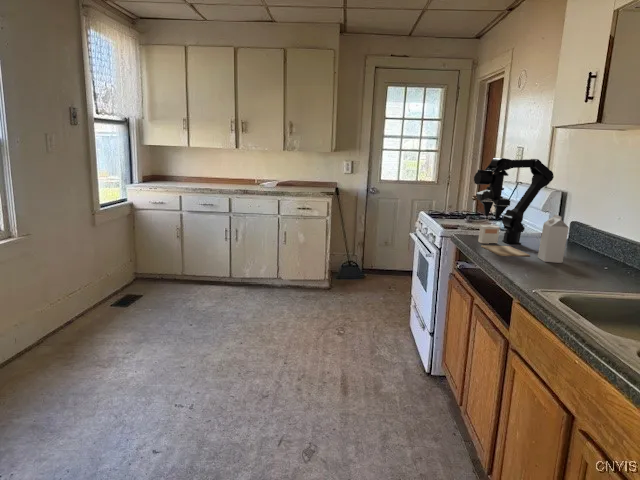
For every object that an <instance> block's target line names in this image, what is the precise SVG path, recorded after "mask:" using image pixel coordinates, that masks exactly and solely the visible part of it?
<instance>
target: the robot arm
mask: <svg viewBox="0 0 640 480" xmlns="http://www.w3.org/2000/svg"><path fill="white" fill-rule="evenodd" d="M515 168H516V169H522V168H525V169H527V168H529V169H530V173H531V174H532V177H531V183H530V185H529V187H528V188H527V190H525V192H524V194H523V195H522V197H521V198H520V199H519V201H518V202H517V203H516V205H515V206H514V208H512V209H508V207H509V206H511V200H510V199H508V198H504V197H503V196H502V191H505V187H503V186H504V185H503V184H504V178H505V177H509V173H508V172H507V171H508V170H511V169H515ZM554 177H555V176H554V172H553V171H552V170H550V169H549V167H547V166H546V165H545V164H543V162H542V161H541V160H540V159H538V158H529V159H528V158H527V159H510V158H505V157H504V158H503V157H493V158H492V159H491V160H490V163H489V164H488V166H486V168H485V169H477V172H476V173H475V175H474V176H473V182H474V184H475V185H482V186H485V185H489V186H487V187H486V189H483V190H481V191H478V192H476V193H475V196H476V199H477V201H479V203H481V204H482V206H483V210H484V215H485V217H488V216H489V214H490V212H491V210H492V207H494V209H495V213H494V214H495V215H494V218H495V220H497V221H498V220H499V219H500V217H501V215H502V214H503V212H504V211H505V210H506V209H507V210H506V212H505V213H504V214H503V215H502V219H501V223H502V225H503V229H505V232H504V234H503V239H502V242H504V243H507V244H508V245H510V244H511V245H522V243H521V242H520V240H521V234H522V233H523V232H524V231H525V230H526V228H525V226H524V225H523V223H522V222H523V219H524V213H525V212H526V211H527V210H528V208H529V206H530V205H531V204H532V203H533V201H534V199H535V198H536V197H537V195H538V194H539V192H540V191H541V190H542V189H543V188H544V187H546V186H548V185H549V184H550V183H551V182H552V181H553V180H554Z"/></svg>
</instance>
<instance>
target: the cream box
mask: <svg viewBox="0 0 640 480" xmlns="http://www.w3.org/2000/svg"><path fill="white" fill-rule="evenodd" d="M499 235H500V226H497V225H479V233H478V241H477V242H478V243H480V244H489V243H497V244H498V243H499V242H498V240H499Z"/></svg>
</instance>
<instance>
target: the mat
mask: <svg viewBox="0 0 640 480" xmlns="http://www.w3.org/2000/svg"><path fill="white" fill-rule="evenodd" d="M480 247H481V248H482V249H485V250H487V251H489V252H491V253H493V254H495V255H497V256H499V257H503V256H504V257H531V254H529V253H526V252H524V251H521V250H520V249H517V248H514V247H512V246H509V245H485V244H484V245H481V246H480Z"/></svg>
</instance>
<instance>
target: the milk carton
mask: <svg viewBox="0 0 640 480" xmlns="http://www.w3.org/2000/svg"><path fill="white" fill-rule="evenodd" d="M562 218H563V217H562V216H561V215H559V214H558V215H557V214H555V213H554V214H553V216H552V217H550V218H548V220H547V221H544V223H543V224H542V232H541V235H540V236H541V237H540V243H539V249H538V253H537V258H538V259H540V260H541V261H542V262H546V263H556V264H557V263H558V264H563V261H564V255H565V251H566V245H567V244H566V243H567V240H568V233H569V229H570V227H569V226H568V225H567V224H566V223H565V222H564V221H563V219H562Z"/></svg>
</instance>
